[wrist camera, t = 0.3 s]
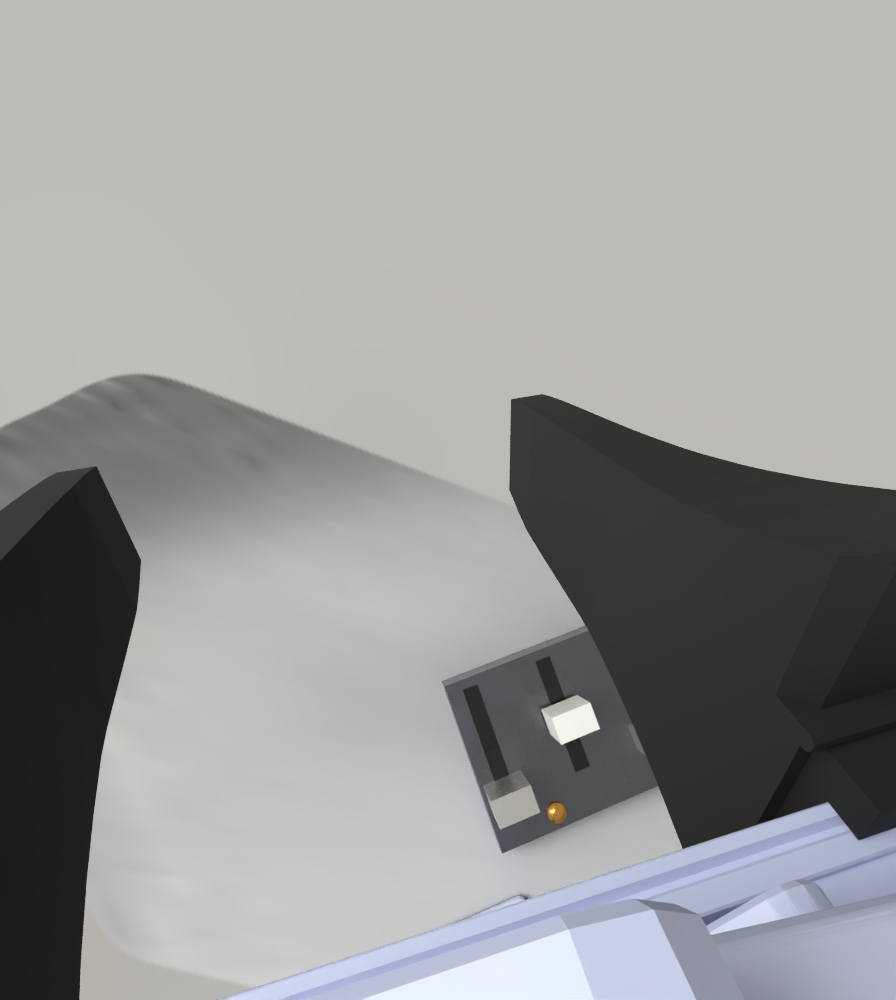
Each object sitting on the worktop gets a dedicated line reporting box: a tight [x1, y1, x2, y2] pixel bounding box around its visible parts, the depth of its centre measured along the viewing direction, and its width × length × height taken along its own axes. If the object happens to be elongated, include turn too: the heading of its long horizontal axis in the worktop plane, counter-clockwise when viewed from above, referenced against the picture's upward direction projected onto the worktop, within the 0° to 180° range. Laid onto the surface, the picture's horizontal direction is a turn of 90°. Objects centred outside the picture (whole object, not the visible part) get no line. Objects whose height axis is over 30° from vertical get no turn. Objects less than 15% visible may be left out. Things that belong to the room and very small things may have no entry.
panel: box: [442, 626, 658, 853], centre depth 37 cm, size 10×13×5 cm
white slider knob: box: [541, 695, 600, 745], centre depth 36 cm, size 2×2×2 cm, turn 110°
